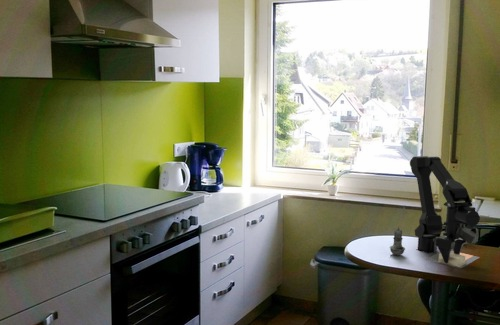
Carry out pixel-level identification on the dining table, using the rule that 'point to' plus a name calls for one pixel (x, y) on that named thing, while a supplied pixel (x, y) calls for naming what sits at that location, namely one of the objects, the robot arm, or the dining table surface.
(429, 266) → the dining table surface
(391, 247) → the grey tower figurine
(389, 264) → the dining table surface
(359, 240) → the dining table surface
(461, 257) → the cream block
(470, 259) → the mat
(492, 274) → the dining table surface
